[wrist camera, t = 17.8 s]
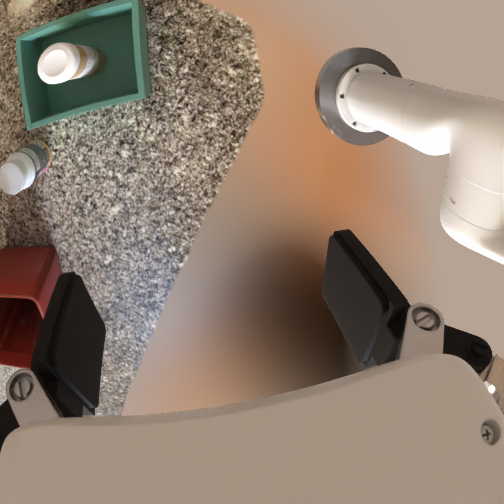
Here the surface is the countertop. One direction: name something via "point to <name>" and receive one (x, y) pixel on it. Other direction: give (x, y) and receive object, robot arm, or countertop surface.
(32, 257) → the flower pot
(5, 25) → the countertop surface
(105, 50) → the bin
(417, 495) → the robot arm
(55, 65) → the sprinkles bottle
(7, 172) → the pill bottle
